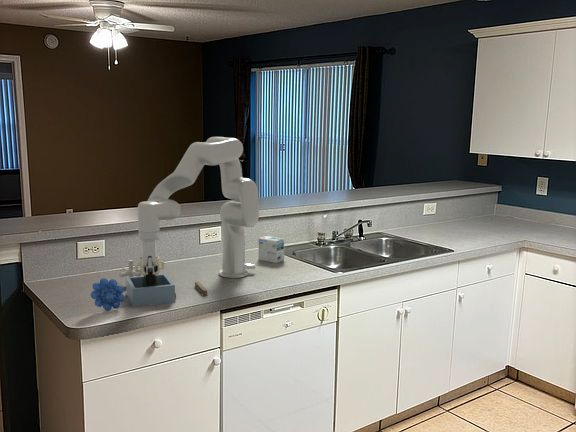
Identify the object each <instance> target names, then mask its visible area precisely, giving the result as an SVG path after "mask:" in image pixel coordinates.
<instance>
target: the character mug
mask: <svg viewBox="0 0 576 432" xmlns="http://www.w3.org/2000/svg"><path fill="white" fill-rule="evenodd" d="M151 257H152V256H151ZM147 266H148V262H147ZM152 266H153V262H152ZM138 268H140V270H138ZM134 269H135V272H140V273H141V276H144V277H143V283H142V287H151V286H159V285H158V279H157V276H156V275H158V274H160V270H164V269H165V261H164V260H160V256H158V255H156V266H155V267H154V274H155V285H146V267H142V256H141V257H139V263H136V264H135V265H134ZM152 269H153V268H152Z"/></svg>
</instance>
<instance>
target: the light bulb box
mask: <svg viewBox="0 0 576 432" xmlns="http://www.w3.org/2000/svg"><path fill="white" fill-rule="evenodd" d="M257 256H258V260H257V261H263V262H269V263H273V264H274V263H275V264H278V263H281V262H283V261H285V238H282V237H277V236H276V237H275V236H271V235H270V236H269V235H265V236H261V237H258V255H257Z"/></svg>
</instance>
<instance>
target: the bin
mask: <svg viewBox="0 0 576 432" xmlns="http://www.w3.org/2000/svg"><path fill="white" fill-rule="evenodd" d="M156 276H157V279H158V285H159V286H151V287H142V283H143V277H144V276H143V275H141V276H134V277H129V276H125V281H126V282H125V284H126V287H125V288H126V289H125V290H126V291H125V292H126V295H127V298H128V300H129V302H130V304H131V306H132V308H137V307H145V306H154V305H162V304H170V303H176V299H175V293H176V284H175V283H174V282H173V281H172V279H171V278H170V277H169V276H168V275H167V273H159V274H158V275H156Z"/></svg>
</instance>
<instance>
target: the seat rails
mask: <svg viewBox="0 0 576 432" xmlns="http://www.w3.org/2000/svg"><path fill="white" fill-rule="evenodd" d="M194 287H195V288H196V289H197V290H198V291H199V293H200V294H201V295H202V296H203V297H205V296H208V289H207V288H206V287H205V286H204V285H203V284H202V283H201V282H200V281H197V280H196V281H194ZM176 299H177V292H175V300H176Z"/></svg>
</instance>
